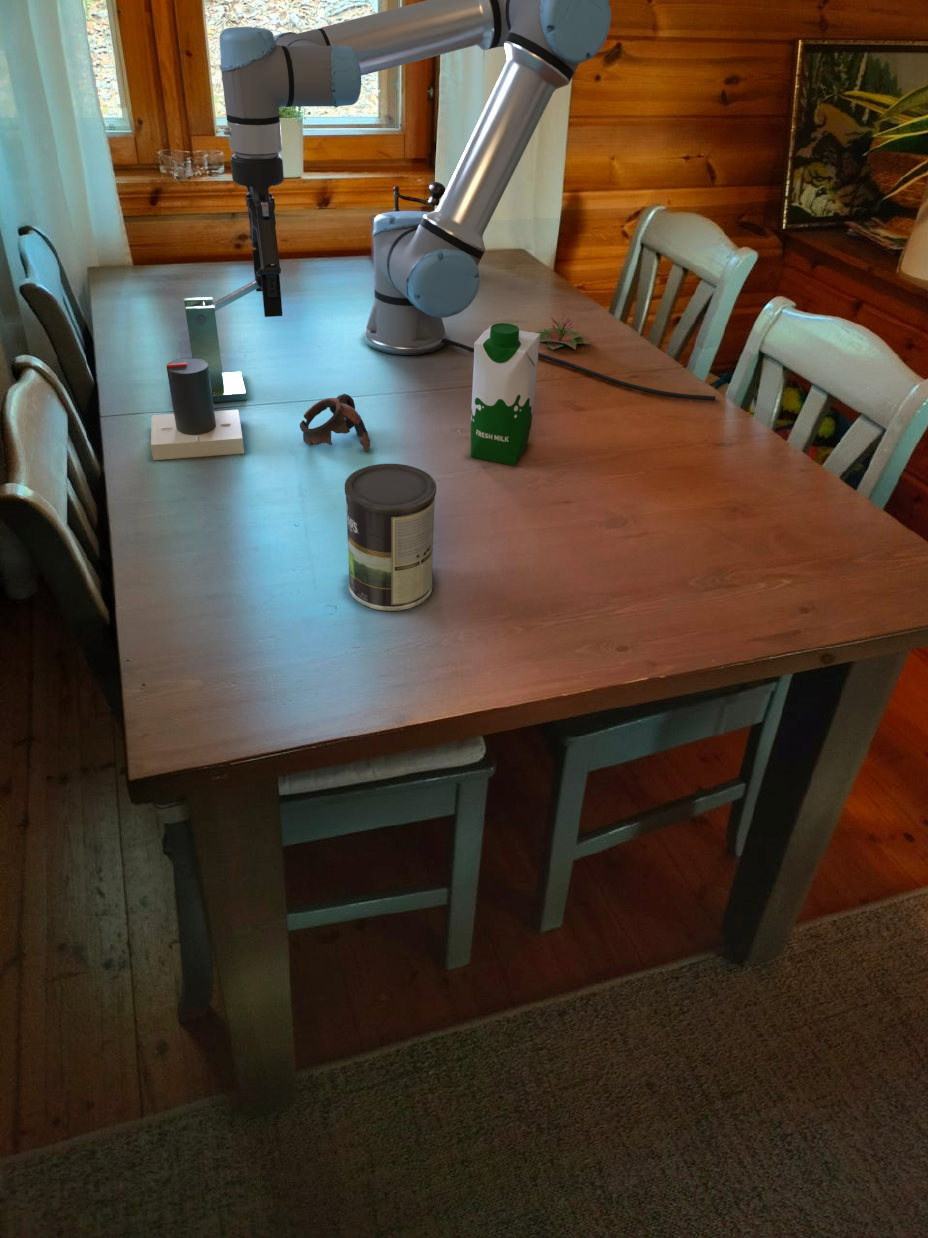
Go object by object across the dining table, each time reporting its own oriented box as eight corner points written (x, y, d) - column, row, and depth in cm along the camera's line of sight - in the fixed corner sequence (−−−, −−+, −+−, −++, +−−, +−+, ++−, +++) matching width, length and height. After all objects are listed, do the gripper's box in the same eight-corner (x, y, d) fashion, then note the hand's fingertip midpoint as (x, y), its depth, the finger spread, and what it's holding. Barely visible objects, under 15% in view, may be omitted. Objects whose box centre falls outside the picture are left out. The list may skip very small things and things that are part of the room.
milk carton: (463, 458, 138) (469, 328, 125) (481, 434, 144) (489, 308, 132) (518, 470, 136) (530, 338, 123) (534, 444, 142) (547, 317, 130)
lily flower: (602, 348, 176) (605, 325, 173) (548, 356, 171) (551, 332, 169) (569, 327, 184) (572, 304, 181) (518, 334, 180) (519, 311, 177)
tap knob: (215, 416, 140) (207, 354, 134) (216, 433, 135) (208, 370, 129) (176, 419, 138) (166, 356, 132) (176, 436, 134) (166, 372, 128)
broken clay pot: (370, 464, 136) (341, 424, 130) (317, 481, 140) (287, 443, 134) (381, 411, 143) (354, 371, 138) (331, 429, 147) (302, 390, 141)
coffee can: (347, 613, 106) (343, 508, 98) (349, 563, 114) (345, 462, 106) (435, 611, 107) (439, 508, 99) (431, 562, 115) (433, 462, 107)
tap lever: (281, 279, 147) (269, 259, 144) (284, 286, 144) (272, 266, 142) (198, 324, 147) (185, 304, 145) (199, 332, 145) (186, 312, 142)
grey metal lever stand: (241, 378, 157) (231, 291, 148) (246, 399, 151) (237, 310, 142) (175, 382, 155) (161, 295, 146) (177, 405, 148) (163, 314, 139)
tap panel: (240, 424, 144) (238, 408, 142) (244, 453, 136) (242, 437, 134) (154, 430, 141) (151, 414, 139) (153, 460, 133) (150, 443, 131)
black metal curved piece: (380, 270, 208) (379, 185, 197) (370, 256, 216) (368, 173, 205) (445, 267, 212) (448, 183, 201) (433, 253, 220) (435, 172, 209)
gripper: (223, 137, 141) (238, 280, 155) (237, 172, 123) (253, 330, 137) (272, 136, 143) (282, 278, 157) (293, 171, 125) (303, 327, 139)
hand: (268, 302), depth 147 cm, fingers open, 11 cm apart
